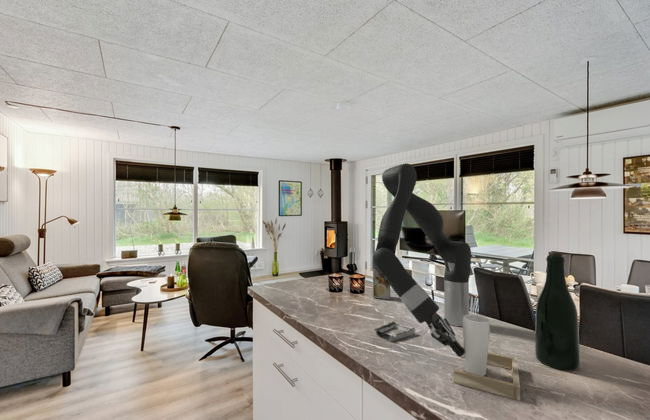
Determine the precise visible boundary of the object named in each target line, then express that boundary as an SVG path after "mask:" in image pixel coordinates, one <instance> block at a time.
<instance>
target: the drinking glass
mask: <svg viewBox="0 0 650 420" xmlns="http://www.w3.org/2000/svg"><path fill="white" fill-rule="evenodd" d="M490 322H491V321H490V319H489V318H488V317H486V316H483V315H478V314H470V313H469V314H468V315H464V316H463V326H462V339H463V347H464V351H465V353H464V355H465V359H464V369H465V372H468V373H472V374H476V375H480V376H484V377H485V376H486V375H487V365H488V364H487V356H488V352H489V346H490V345H489V344H490V336H491V335H490V334H491V324H490Z"/></svg>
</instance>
